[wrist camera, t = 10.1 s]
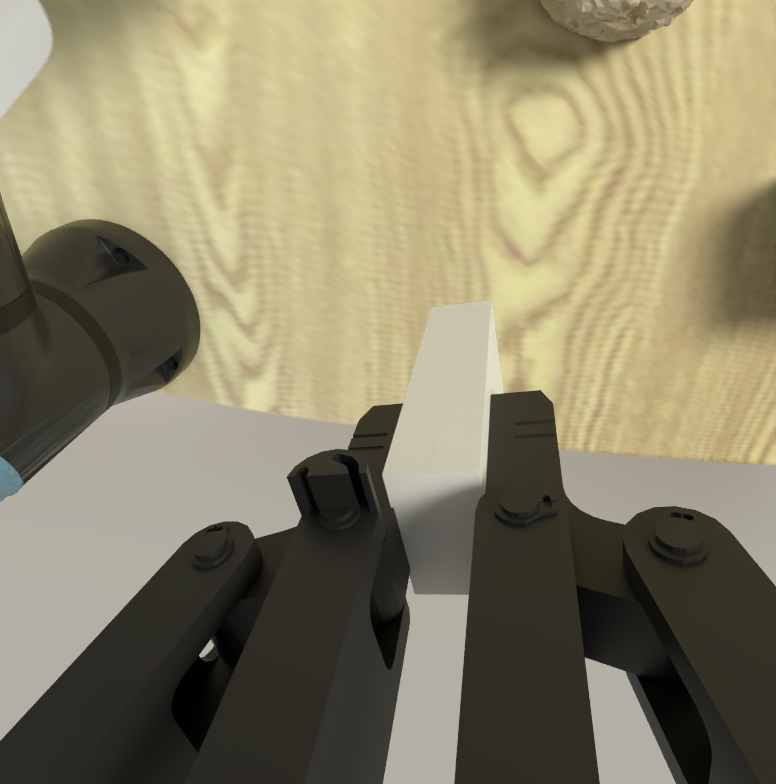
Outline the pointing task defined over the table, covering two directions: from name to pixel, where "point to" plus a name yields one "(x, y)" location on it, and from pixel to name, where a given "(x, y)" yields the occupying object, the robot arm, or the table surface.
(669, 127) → the table surface
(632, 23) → the sponge
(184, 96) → the table surface
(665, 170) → the table surface
